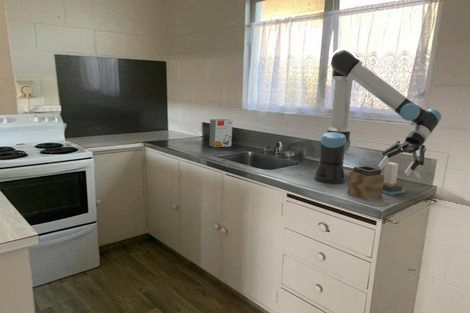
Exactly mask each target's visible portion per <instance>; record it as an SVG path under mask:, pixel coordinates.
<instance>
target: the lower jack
mask: <svg viewBox="0 0 470 313" xmlns="http://www.w3.org/2000/svg"><path fill="white" fill-rule="evenodd" d="M383 193H384V194H386V195H389V196H393V195H400V194H405V193H406V190H405V189H403V185H401V184H397V183H396V186H392V187H389V186H386V185H383V189H382V194H383Z"/></svg>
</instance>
